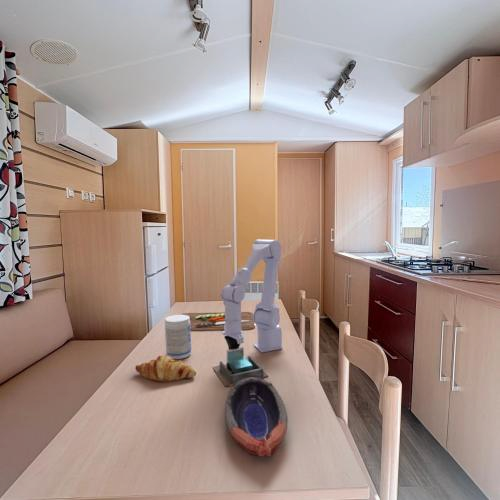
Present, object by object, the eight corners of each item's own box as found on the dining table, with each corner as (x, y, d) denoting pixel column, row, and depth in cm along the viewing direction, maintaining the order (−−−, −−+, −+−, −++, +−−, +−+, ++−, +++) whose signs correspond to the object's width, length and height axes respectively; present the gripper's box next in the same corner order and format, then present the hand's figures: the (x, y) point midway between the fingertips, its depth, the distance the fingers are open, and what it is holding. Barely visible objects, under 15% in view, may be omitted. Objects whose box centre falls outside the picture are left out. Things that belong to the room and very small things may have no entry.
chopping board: (257, 314, 172) (257, 308, 172) (260, 330, 145) (260, 324, 145) (177, 315, 171) (177, 310, 171) (165, 332, 144) (165, 326, 144)
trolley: (244, 364, 109) (244, 346, 109) (255, 375, 101) (254, 356, 100) (224, 368, 106) (224, 350, 106) (234, 380, 98) (233, 360, 97)
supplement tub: (195, 356, 117) (194, 318, 116) (171, 362, 112) (169, 323, 110) (185, 347, 125) (184, 312, 124) (162, 353, 120) (161, 316, 118)
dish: (277, 389, 94) (277, 373, 93) (297, 469, 63) (297, 446, 63) (227, 390, 93) (226, 374, 93) (222, 472, 63) (221, 449, 62)
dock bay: (251, 359, 114) (251, 351, 113) (268, 376, 101) (268, 368, 101) (212, 367, 108) (212, 359, 107) (225, 386, 95) (225, 377, 95)
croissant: (198, 383, 104) (201, 358, 107) (190, 383, 95) (194, 356, 98) (139, 379, 106) (144, 354, 109) (125, 379, 97) (131, 352, 100)
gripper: (216, 314, 113) (216, 350, 114) (229, 326, 100) (229, 366, 101) (234, 312, 116) (234, 347, 117) (249, 323, 102) (249, 362, 104)
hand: (233, 355), depth 109 cm, fingers closed
